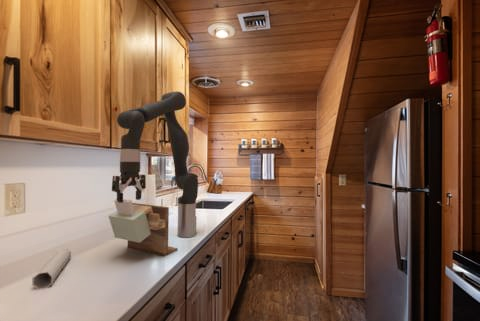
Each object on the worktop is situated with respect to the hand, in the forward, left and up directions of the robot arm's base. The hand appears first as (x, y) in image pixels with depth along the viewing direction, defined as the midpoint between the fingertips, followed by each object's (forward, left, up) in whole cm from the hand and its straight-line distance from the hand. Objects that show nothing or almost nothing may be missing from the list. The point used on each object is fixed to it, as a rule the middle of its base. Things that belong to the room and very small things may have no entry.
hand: (129, 201), depth 100 cm
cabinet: (-4, 0, -14) cm, 14 cm away
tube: (+20, -13, -24) cm, 33 cm away
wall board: (-10, 0, -23) cm, 25 cm away
